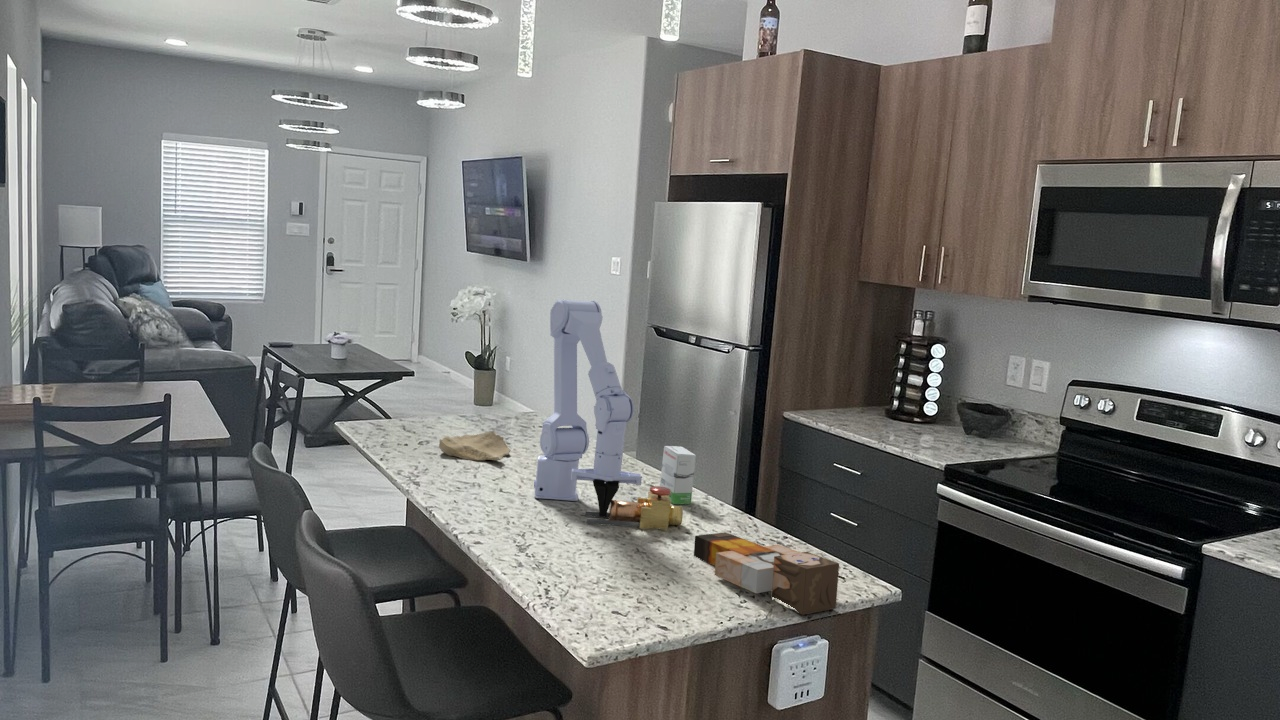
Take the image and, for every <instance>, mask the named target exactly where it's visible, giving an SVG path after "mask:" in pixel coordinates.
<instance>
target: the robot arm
mask: <svg viewBox="0 0 1280 720" xmlns="http://www.w3.org/2000/svg"><path fill="white" fill-rule="evenodd" d="M549 315H550V319H549V321H550V322H549V323H550V325H549V327H550V336H551V337H552V338H553V413H552V415H550V416H549V417H548V418H546V419H545V420H543V422H542V427H541V428H542V429H541V434H540V437H539V446H540V449H541V451H542V453H543V455H542V454H541V455H539V454H538V455H537V462H536V470H535V471H536V472H535V479H534V480H533V488H534V498H535V499H545V500H559V501H570V502H571V501H573V502H577V501H579V498H578V492H577V491H578V490H577V484H578V483H577V482H578V481H588V482H589V481H591V482H592V484H593V488H594V490H595V493H596V496H597V497H596V498H597V502H598V512H599V516H600V517H599V518H606V514H607V512H608V511H609V506H610V503H611V501H612V500H614V499H613V498H614V497H615V495H617V494H618V490H619V489H620V484H629V485H630V484H631V485H636V486H641V485H642V480H643V476H642V474H641V473H635V472H629V471H628V472H627V471H622V464H623V456H624V455H623V453H624V447H625V438H626V437H625V436H626V435H625V434H626V427H627V423H628V422H630V421H631V420H632V418H633V416H634V403H633V399H632V397H631V396H630V395H629V394H627V392H626V391H625V390H623V389H622V386H621V383H620V380H619V377H618V375H617V371H616V369H615V366H614V364H612V363H611V362H608V360H607V356H606V350H605V347H604V346H605V345H604V342H603V339H602V334H601V331H600V329H601V326H602V322H603V313H602V309H601V306H600V304H599V303H598V302H597V301H595V300H590V301H589V300H588V301H587V300H572V299H569V300H568V299H562V298H559V299H557V300H556V301H555V302H554V304H553V306H552V307H551V309H550V314H549ZM579 342H580V343H581V345H582V347H583V350H584V352H585V356H586V357H587V359H588V363H589V365H590V369H589V371H588V374H587V375H588V379H589V381H590V385H591V387H592V390H593V391H592V392H593V393H594V397H595V405H593V413H594V414H593V415H594V417H595V425H594V426H595V429H596V432H597V433H596V441H595V450H594V451H595V452H594V459H593V460H594V461H593V468H579V462H580V459H583V455H585V454H586V452H587V451H588V449H589V446H590V445H589V444H590V436H589V433H588V428H587V426H588V425H587V421H586V420H585V419H584V418H582V417H581V416H580V415H579V414H578V343H579Z"/></svg>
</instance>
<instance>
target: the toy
mask: <svg viewBox="0 0 1280 720" xmlns="http://www.w3.org/2000/svg"><path fill="white" fill-rule="evenodd" d="M693 545H694V547H693V556H694V557H695V556H696V558H697V557H698V558H697V559H699V558H700V559H699V560H701V559H702V560H701V561H703V560H704V561H703V562H705V561H706V563H707V564H710V565H713V566H714V576H716V577H718V578H720V579H723V580H725V581H727V582H730V583H732V584H734V585H737V586H739V587H741V588H743V589H746V590H748V591H750V592H752V593H754V594H760V593H766V592H771V594H770V595H771V596H772V597H774V598H777V599H779V600H781V601H782V602H784V603H786V604H788V605H790V606H791V607H793V608H795V609H796V610H797V611H798V612H799V613H798V614H800V615H809V614H814V613H819V612H824V611H830V610H835V609H836V608H837V599H838V598H837V596H838V583H839V573H840V571H839V570H840V563H838V562H836V561H833V560H831V559H828V558H825V557H822V556H820V555H817V554H815V553H811V552H808V551H802V552H800V551H797V550H794V549H792V548H790V547H786V546H784V545H780V544H774V545H765V546H764V545H761V544H758V543H755V542H752V541H750V540H748V539H744V538H742V537H740V536H738V535H737V536H736V535H735V534H732V533H729V532H725V531H724V532H717V533H708V534H699V535H695V536H694V544H693ZM771 596H770V597H771Z"/></svg>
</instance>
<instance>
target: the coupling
mask: <svg viewBox="0 0 1280 720" xmlns="http://www.w3.org/2000/svg"><path fill="white" fill-rule="evenodd" d="M641 507H649V503H648V502H643V503H637V501H636V502H634V501H621V500H617V499H612V501H611V503H610V505H609V508H608V512H609V518H608V519H609V520H624V521H638V522H640V515H641Z"/></svg>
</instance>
